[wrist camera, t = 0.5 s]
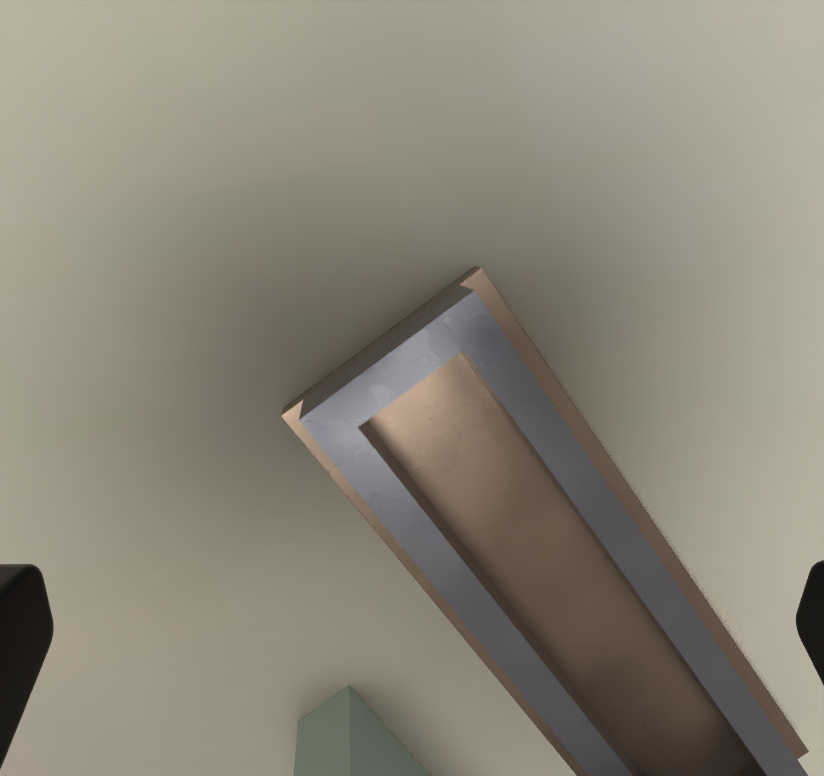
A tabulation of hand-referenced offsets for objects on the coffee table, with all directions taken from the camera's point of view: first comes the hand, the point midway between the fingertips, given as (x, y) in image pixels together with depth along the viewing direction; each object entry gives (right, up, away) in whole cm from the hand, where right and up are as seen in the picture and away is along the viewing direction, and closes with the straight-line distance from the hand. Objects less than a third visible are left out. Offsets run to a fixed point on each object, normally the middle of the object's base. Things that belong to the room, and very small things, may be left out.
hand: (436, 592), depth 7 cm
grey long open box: (+6, -5, +17) cm, 19 cm away
